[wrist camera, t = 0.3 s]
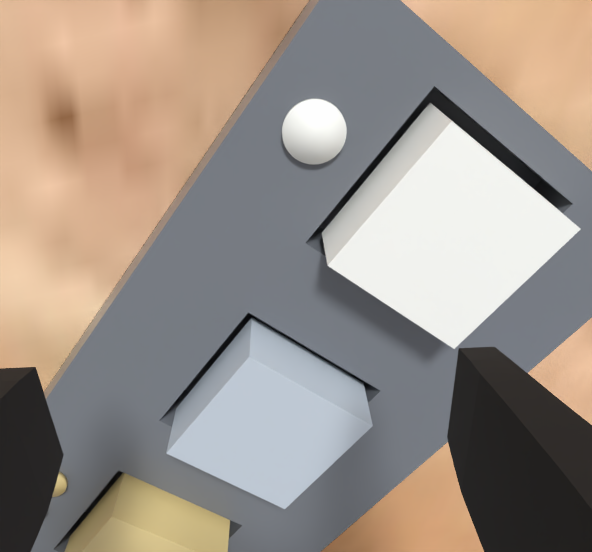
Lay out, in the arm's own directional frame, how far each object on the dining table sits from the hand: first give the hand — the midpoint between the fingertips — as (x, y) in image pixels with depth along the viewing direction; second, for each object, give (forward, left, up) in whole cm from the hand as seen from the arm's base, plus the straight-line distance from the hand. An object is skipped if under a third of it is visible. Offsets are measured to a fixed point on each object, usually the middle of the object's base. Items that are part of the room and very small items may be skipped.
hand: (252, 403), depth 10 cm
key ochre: (-4, +13, -7) cm, 15 cm away
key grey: (-4, +5, -7) cm, 9 cm away
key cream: (-4, -3, -7) cm, 9 cm away
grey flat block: (-4, +5, -9) cm, 11 cm away
